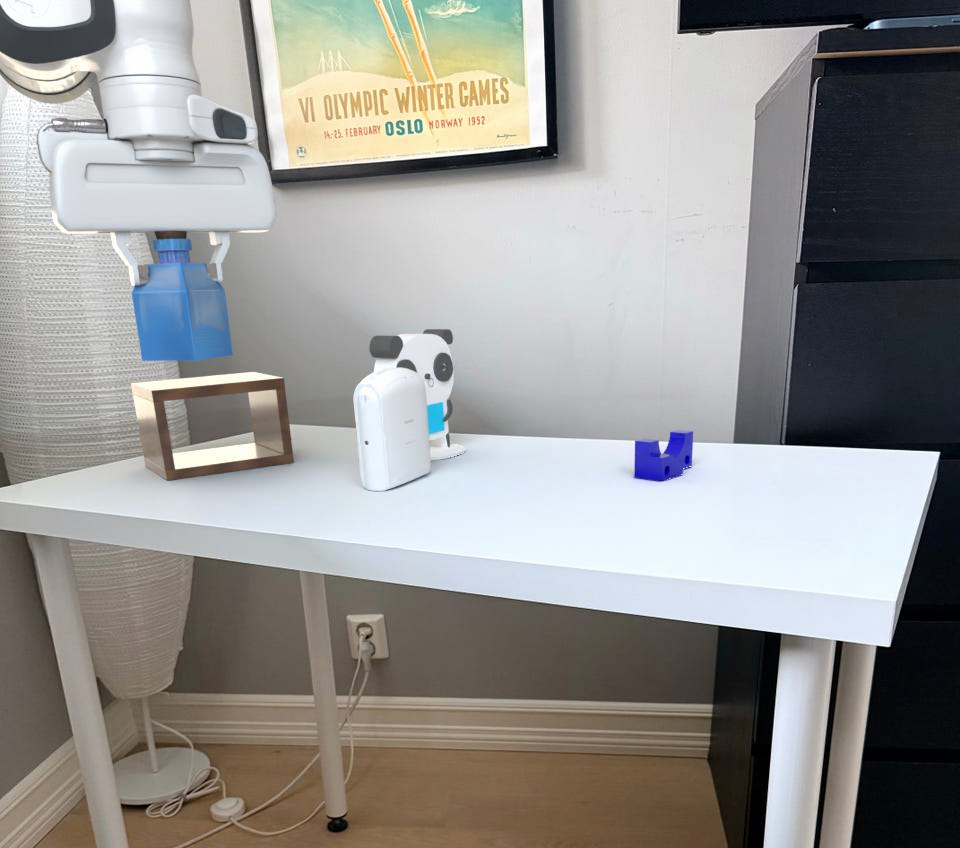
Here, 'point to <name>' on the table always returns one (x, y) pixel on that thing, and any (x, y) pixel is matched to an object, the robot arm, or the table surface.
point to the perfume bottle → (180, 306)
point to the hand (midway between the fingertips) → (178, 284)
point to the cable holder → (663, 456)
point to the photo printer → (391, 428)
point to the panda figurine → (425, 378)
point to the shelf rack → (266, 450)
